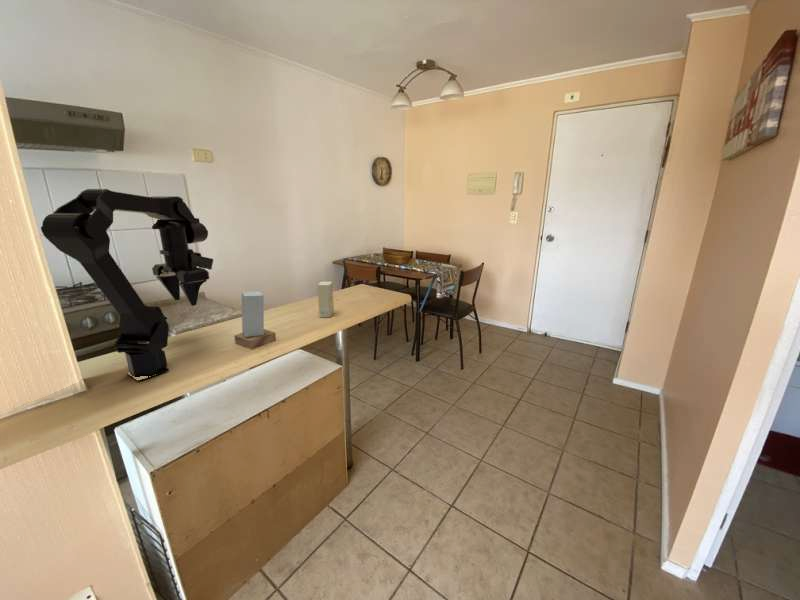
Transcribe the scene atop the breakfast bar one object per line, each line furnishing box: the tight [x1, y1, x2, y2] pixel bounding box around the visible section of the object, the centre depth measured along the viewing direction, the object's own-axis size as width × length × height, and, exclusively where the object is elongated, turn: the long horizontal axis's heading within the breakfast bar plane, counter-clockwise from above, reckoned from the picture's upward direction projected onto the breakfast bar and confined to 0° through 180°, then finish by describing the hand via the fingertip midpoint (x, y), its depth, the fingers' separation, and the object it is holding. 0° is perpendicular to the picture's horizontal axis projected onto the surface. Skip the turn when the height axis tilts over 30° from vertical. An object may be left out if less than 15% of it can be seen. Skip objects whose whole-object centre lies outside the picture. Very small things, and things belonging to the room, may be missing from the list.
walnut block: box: [233, 328, 277, 350], centre depth 99 cm, size 8×8×3 cm
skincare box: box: [317, 281, 335, 318], centre depth 122 cm, size 6×4×12 cm
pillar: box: [241, 290, 265, 337], centre depth 96 cm, size 5×5×12 cm
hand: (185, 302), depth 92 cm, fingers open, 9 cm apart
